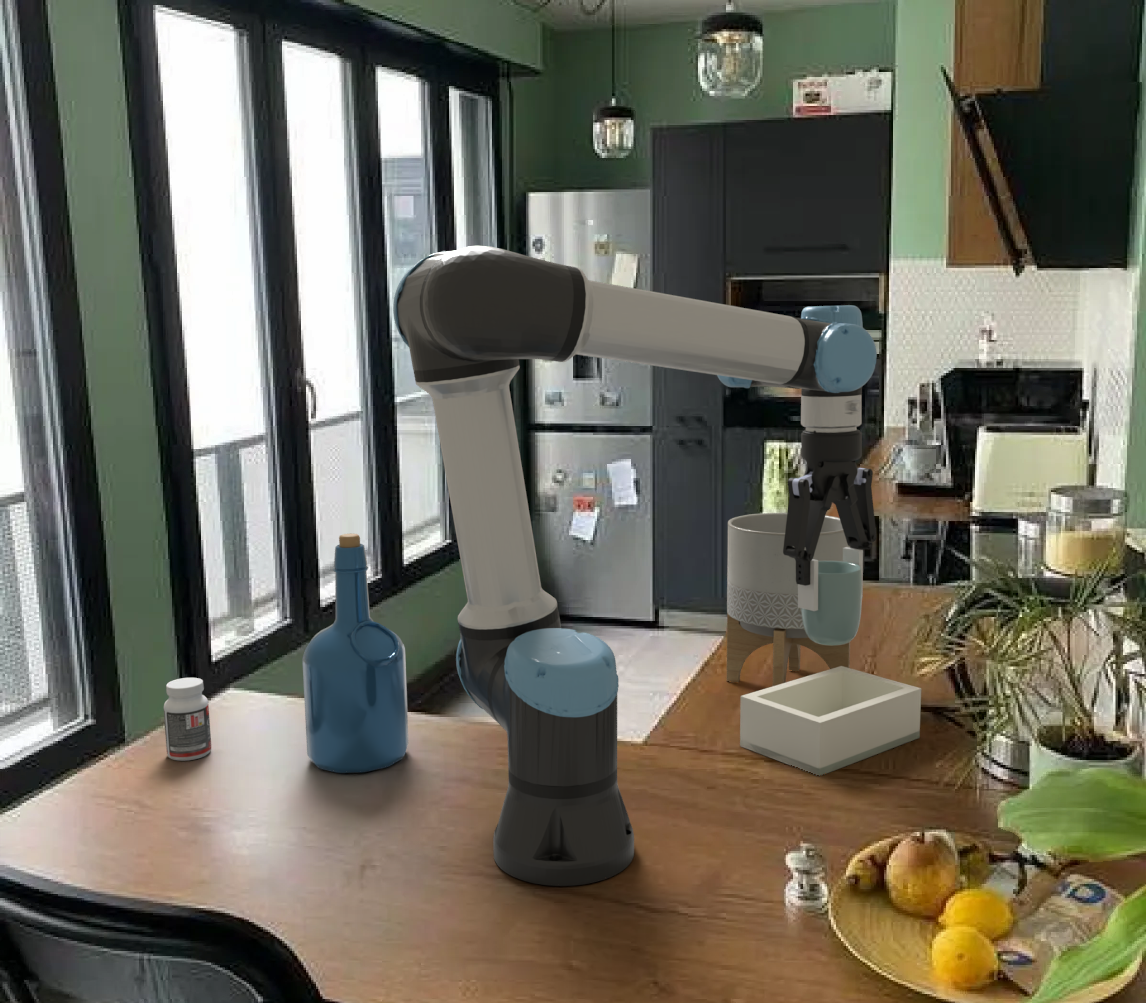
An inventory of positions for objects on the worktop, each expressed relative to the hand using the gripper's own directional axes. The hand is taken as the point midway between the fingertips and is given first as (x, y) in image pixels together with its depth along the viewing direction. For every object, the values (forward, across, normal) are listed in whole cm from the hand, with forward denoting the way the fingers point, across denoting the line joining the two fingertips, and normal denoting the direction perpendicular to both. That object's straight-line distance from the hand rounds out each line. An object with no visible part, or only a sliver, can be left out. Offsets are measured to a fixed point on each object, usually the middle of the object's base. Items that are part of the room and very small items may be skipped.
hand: (830, 602), depth 148 cm
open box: (+20, +2, +2) cm, 20 cm away
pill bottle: (+19, -68, +52) cm, 88 cm away
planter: (+21, +16, +22) cm, 34 cm away
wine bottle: (+19, -50, +37) cm, 65 cm away
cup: (+5, 0, 0) cm, 5 cm away
